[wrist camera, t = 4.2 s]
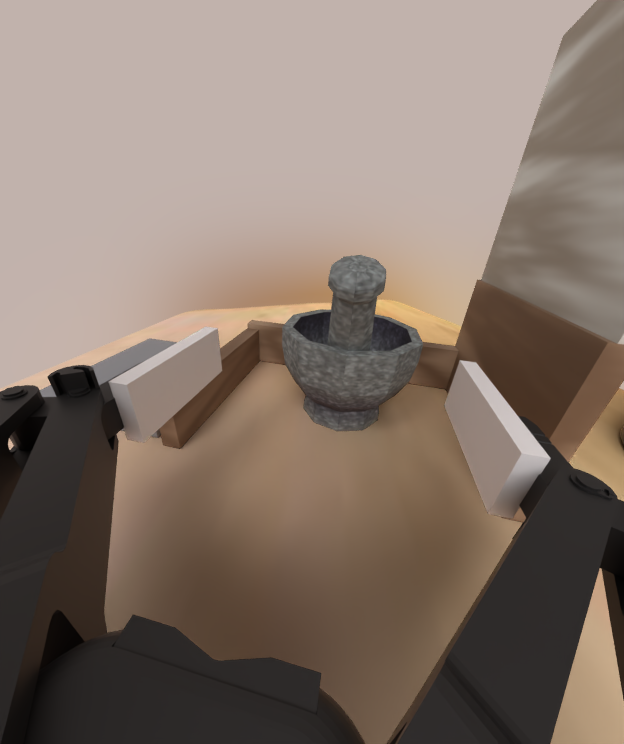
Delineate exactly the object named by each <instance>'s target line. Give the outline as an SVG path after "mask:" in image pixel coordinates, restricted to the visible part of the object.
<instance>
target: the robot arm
mask: <svg viewBox="0 0 624 744" xmlns="http://www.w3.org/2000/svg"><path fill="white" fill-rule="evenodd" d="M221 371H222V364H221V355H220V345H219V335H218V328H211V327H204V328H202V329H201V330H199V331H197V332H195V333H193V334H192V335H190V336H188V337H186V338H185V339H183V340H181V341H179V342H178V343H176V344H174V345H172V346H171V347H169V348H167V349H165V350H163V351H162V352H160V353H158V354H156V355H155V356H153V357H151V358H149V359H148V360H146V361H144V362H141V363H138V364H137V365H135V366H133V367H131V368H130V369H128V370H126V371H124V372H123V373H122V374H119V375H117V376H115V377H113V378H112V379H110V380H108V381H106V382H105V383H103V384H101V385H99V383H98V381H97V378H96V375H95V372H94V369H93V367H91V366H86V365H78V366H71V367H66V368H62V369H59V370H57V371H55V372H53V373H51V374H50V375H49V376H48V379H49V381H50V383H51V386H52V388H53V390H54V392H55V395H56V397H42V395H41V393H40V391H39V388H38V387H36V386H29V385H25V386H15V387H13V388H12V387H11V388H7V389H5V390H4V391H1V392H0V744H365V742H364V740H363V739H362V737H361V735H360V734H359V732H358V730H357V729H356V727H355V726H354V724H353V722H352V721H351V720H350V718H349V717H348V716H347V714H346V713H345V712H344V711H343V709H342V708H341V707H340V706H339V705H338V704H337V703H336V702H335V701H334V700H333V699H332V698H331V697H330V696H329V695H328V694H327V693H325V692H324V691H323V690H321V689H320V679H321V673H319V672H316V671H313V670H310V669H306V668H303V667H300V666H297V665H294V664H290V663H287V662H284V661H281V660H278V659H274V658H256V659H240V660H224V661H218V660H214V659H212V658H211V657H210V656H208V655H207V654H206V653H205V652H204V651H203V650H201V649H200V648H199V647H198V646H197V645H195V644H194V643H193V642H192V641H191V640H189V639H188V638H187V637H186V636H185V635H184V634H182V633H181V632H180V631H179V630H178V629H176V628H175V627H172V626H168V625H165V624H162V623H159V622H155V621H152V620H149V619H146V618H143V617H139V616H136V615H132V617H131V619H130V620H129V622H128V623H127V625H126V627H125V628H124V630H119V631H114V632H109V633H107V628H106V623H105V616H104V604H105V592H106V581H107V569H108V558H109V546H110V534H111V523H112V511H113V500H114V488H115V476H116V465H117V453H118V442H119V441H118V438H117V435H116V434H117V433H118V432H119V431H120V430H122V429H123V428H124V431H125V434H126V437H127V439H128V440H132V441H137V442H142V443H144V442H145V441H146V440H148V439H149V438H150V437H151V436H152V435H153V434H154V433H155V432H156V431H157V430H158V429H159V428H161V427H162V426H163V425H164V424H165V423H166V422H167V421H168V420H169V419H170V418H171V417H173V416H174V415H175V414H176V413H177V412H178V411H179V410H180V409H181V408H182V407H183V406H184V405H186V404H187V403H188V402H189V401H190V400H191V399H192V398H193V397H194V396H195V395H196V394H198V393H199V392H200V391H201V390H202V389H203V388H204V387H205V386H206V385H207V384H208V383H210V382H211V381H212V380H213V379H214V378H215V377H216V376H217V375H218V374H219V373H220V372H221ZM444 406H445V409H446V411H447V414H448V416H449V419H450V421H451V424H452V426H453V429H454V431H455V434H456V436H457V439H458V441H459V444H460V446H461V449H462V451H463V454H464V456H465V459H466V461H467V464H468V466H469V468H470V471H471V473H472V476H473V478H474V481H475V483H476V486H477V488H478V491H479V493H480V496H481V498H482V501H483V503H484V506H485V508H486V511H487V513H488V514H491V515H496V516H501V517H505V518H510V519H513V517H514V515H515V514H516V512H517V511H518V509H519V508H520V507H521V509H522V511H523V513H524V515H525V517H526V519H525V521H524V522H523V524H522V525H521V527H520V528H519V529H518V531H517V532H516V534H515V535H514V537H513V538H512V539H513V540H512V541H511V543H510V545H509V546H508V548H507V550H506V551H505V553H504V554H503V556H502V558H501V559H500V561H499V563H498V564H497V566H496V568H495V569H494V571H493V572H492V574H491V576H490V577H489V579H488V581H487V582H486V584H485V585H484V587H483V589H482V590H481V592H480V594H479V595H478V597H477V599H476V600H475V602H474V603H473V605H472V607H471V608H470V610H469V612H468V613H467V615H466V617H465V618H464V620H463V621H462V623H461V625H460V626H459V628H458V630H457V631H456V633H455V634H454V636H453V638H452V639H451V641H450V643H449V644H448V646H447V648H446V649H445V651H444V652H443V654H442V656H441V657H440V659H439V661H438V662H437V664H436V666H435V667H434V669H433V670H432V672H431V674H430V675H429V677H428V679H427V680H426V682H425V683H424V685H423V687H422V688H421V690H420V692H419V693H418V695H417V697H416V698H415V700H414V701H413V703H412V705H411V706H410V708H409V709H408V711H407V713H406V714H405V716H404V717H403V719H402V720H401V722H400V723H399V725H398V726H397V728H396V730H395V731H394V733H393V734H392V736H391V737H390V739H389V741H388V742H387V744H550V742H551V739H552V735H553V732H554V728H555V724H556V721H557V717H558V714H559V710H560V707H561V703H562V700H563V696H564V692H565V689H566V685H567V682H568V678H569V675H570V671H571V668H572V664H573V660H574V657H575V653H576V650H577V646H578V643H579V639H580V636H581V632H582V628H583V625H584V621H585V618H586V614H587V611H588V607H589V604H590V600H591V596H592V593H593V589H594V586H595V582H596V579H597V575H598V572H599V568H601V569H602V573H603V579H604V585H605V591H606V597H607V603H608V609H609V615H610V621H611V627H612V633H613V639H614V645H615V651H616V657H617V663H618V669H619V675H620V681H621V687H622V693H623V699H624V501H621V500H618V499H617V495H616V494H615V493H614V492H613V490H612V489H611V488H610V487H609V486H607V485H606V484H605V483H604V482H602V481H601V480H599V479H597V478H596V477H594V476H592V475H591V474H588V473H586V472H583V471H581V470H578V469H573V467H572V466H571V465H570V464H569V463H568V461H567V460H566V459H565V458H564V457H563V455H562V454H561V453H560V452H559V451H558V449H557V448H556V447H555V446H554V445H552V442H551V441H550V440H549V439H548V438H547V437H545V434H544V433H543V432H542V430H541V429H540V428H539V427H538V426H537V425H536V424H534V423H533V422H532V421H530V420H529V419H527V418H526V417H523V416H517V414H516V413H515V412H514V411H513V409H512V408H511V407H510V405H509V404H508V403H507V402H506V400H505V399H504V398H503V396H502V395H501V394H500V393H499V391H498V390H497V389H496V387H495V386H494V385H493V384H492V382H491V381H490V380H489V378H488V377H487V376H486V375H485V373H484V372H483V371H482V369H481V368H480V367H479V366H478V364H477V363H476V362H469V361H462V360H460V361H459V364H458V367H457V370H456V373H455V376H454V378H453V381H452V384H451V387H450V390H449V393H448V396H447V399H446V401H445V404H444ZM620 436H621V440H622V442H623V445H624V426H623V427H622V429H621V432H620ZM9 438H10V440H11V441H12V443H13V445H14V447H13V448H12V449H11V450H9V447H8V439H9Z"/></svg>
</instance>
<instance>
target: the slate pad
mask: <svg viewBox="0 0 624 744" xmlns="http://www.w3.org/2000/svg"><path fill="white" fill-rule="evenodd" d="M176 343H177V342H170V341H163V340H156V339H148V340H146V341H143V342H141V343H139V344H137V345H135V346H133V347H131V348H129V349H126V350H124V351H122V352H120V353H118V354H116V355H114V356H112V357H110V358H107V359H105V360H103V361H101V362H99V363H97V364H95V365H93V366H91V367H93V369H94V372H95V375H96V378H97V381H98V383H99V385H101V384H103V383H105V382H106V381H108V380H110V379H112V378H113V377H115V376H117V375H119V374H122V373H123V372H124V371H126V370H128V369H130V368H131V367H133V366H135V365H137V364H138V363H141V362H144V361H146V360H148V359H149V358H151V357H153V356H155V355H156V354H158V353H160V352H162V351H163V350H165V349H167V348H169V347H171V346H172V345H174V344H176ZM39 391H40V393H41V395H42V397H56V395H55V392H54V390H53V388H52V386H51V385H50V386H48V387H46V388H44V389H42V390H39ZM122 430H124V428H123V429H122ZM160 435H161V434H160V430H159V429H158V430H157V431H156V432H155V433H154V434H153V435H152V437H157V438H158V437H159V436H160Z"/></svg>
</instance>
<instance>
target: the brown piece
mask: <svg viewBox="0 0 624 744" xmlns="http://www.w3.org/2000/svg"><path fill="white" fill-rule="evenodd" d="M284 325H285V324H278V323H271V322H263V321H255V320H252V321H250V322H249V323H248V328H247V329H246V330H245V331H243V332H242V333H241V334H239V335H238V336H237V337H235V338H234V339H233V340H231V341H230V342H229V343H227V344H226V345H225V346H223V347H222V348H221V349H220V355H221V364H222V371H221V372H220V373H219V374H218V375H217V376H216V377H215V378H214V379H213V380H212V381H211V382H210V383H208V384H207V385H206V386H205V387H204V388H203V389H202V390H201V391H200V392H199V393H198V394H196V395H195V396H194V397H193V398H192V399H191V400H190V401H189V402H188V403H187V404H186V405H184V406H183V407H182V408H181V409H180V410H179V411H178V412H177V413H176V414H175V415H174V416H173V417H171V418H170V419H169V420H168V421H167V422H166V423H165V424H164V425H163V426H162V427H161V428H159V430H160V434H161V438H162V442H163V445H165V446H170V447H175V448H179V449H180V448H181V447H182V446H183V445H184V444H185V443H186V442H187V440H188V439H189V438H190V437H191V436H192V435H193V434H194V433H195V432H196V431H197V429H198V428H199V427H200V426H201V425H202V424H203V423H204V422H205V421H206V420H207V418H208V417H209V416H210V415H211V414H212V413H213V412H214V411H215V410H216V408H217V407H218V406H219V405H220V404H221V403H222V402H223V401H224V400H225V399H226V397H227V396H228V395H229V394H230V393H231V392H232V391H233V390H234V389H235V388H236V386H237V385H238V384H239V383H240V382H241V381H242V380H243V379H244V378H245V377H246V375H247V374H248V373H249V372H250V371H251V370H252V369H253V368H254V367H255V365H256V364H257V363H258V362H259V361H265V362H271V363H278V364H284V365H286V364H285V359H284V353H283V347H282V327H283V326H284ZM460 360H462V361H469V362H476V363H477V364H478V366H479V367H480V368H481V369H482V371H483V372H484V373H485V375H486V376H487V377H488V378H489V380H490V381H491V382H492V384H493V385H494V386H495V387H496V389H497V390H498V391H499V393H500V394H501V395H502V396H503V398H504V399H505V400H506V402H507V403H508V404H509V405H510V407H511V408H512V409H513V411H514V412H515V413H516V414H517V416H523V417H526V418H527V419H529V420H530V421H532V422H533V423H534V424H536V425H537V426H538V427H539V428H540V429H541V430H542V432H543V433H544V434H545V437H547V438H548V439H549V440H550V441H551V442H552V445H554V446H555V447H556V448H557V449H558V451H559V452H560V453H561V454H562V455H563V457H564V458H565V459H566V460H567V461H568V462H569V460H570V459H571V457H572V456H573V454H574V453H575V451H576V450H577V448H578V447H579V445H580V444H581V443H582V441H583V440H584V438H585V437H586V435H587V434H588V432H589V431H590V429H591V428H592V426H593V425H594V423H595V422H596V421H597V419H598V418H599V416H600V415H601V413H602V412H603V410H604V409H605V407H606V406H607V404H608V403H609V402H610V400H611V399H612V397H613V396H614V394H615V393H616V391H617V390H618V388H619V387H620V385H621V384H622V382H623V381H624V0H597V1H596V2H595V3H594V4H593V5H592V6H591V8H589V9H588V10H587V11H586V13H585V14H584V15H583V16H582V17H581V18H580V19H579V20H578V21H577V22H576V23H575V24H574V25H573V26H572V28H570V29H569V30H568V32H566V34H565V35H564V36H563V38H562V41H561V44H560V47H559V50H558V53H557V56H556V59H555V62H554V65H553V68H552V71H551V74H550V77H549V80H548V83H547V86H546V89H545V92H544V95H543V98H542V101H541V104H540V107H539V109H538V113H537V116H536V118H535V121H534V125H533V127H532V130H531V133H530V136H529V139H528V142H527V145H526V148H525V151H524V154H523V157H522V160H521V163H520V166H519V169H518V172H517V175H516V178H515V181H514V184H513V187H512V190H511V193H510V196H509V199H508V202H507V205H506V208H505V211H504V213H503V216H502V219H501V222H500V226H499V228H498V231H497V234H496V237H495V241H494V243H493V246H492V249H491V252H490V255H489V258H488V261H487V264H486V267H485V270H484V273H483V276H482V279H481V280H477V282H476V285H475V288H474V291H473V294H472V297H471V300H470V303H469V306H468V309H467V312H466V315H465V318H464V321H463V324H462V327H461V330H460V333H459V337H458V340H457V343H456V346H450V345H442V344H434V343H427V342H423V347H422V351H421V355H420V358H419V362H418V364H417V366H416V369H415V371H414V373H413V375H412V377H411V379H410V381H409V382H408V383H410V384H416V385H423V386H429V387H436V388H442V389H446V391H447V393H449V390H450V387H451V384H452V381H453V378H454V376H455V373H456V370H457V367H458V364H459V361H460ZM502 518H505V517H502ZM506 519H510V518H506ZM525 519H526V517H525V515H524V513H523V511H522V509H521V507H520V508H519V509H518V511H517V512H516V514H515V515H514V517H513V519H511V520H515V521H520V522H524V521H525Z"/></svg>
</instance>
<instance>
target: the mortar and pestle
mask: <svg viewBox="0 0 624 744" xmlns="http://www.w3.org/2000/svg"><path fill="white" fill-rule="evenodd" d="M385 279H386V269H385V268H384V267H383V266H382V265H381V264H380V263H379V262H378V261H377V260H376V259H373V258H369V257H365V256H362V255H357V256H348V257H343V258H342V259H340V260H339V261H337V262H335V263H334V264H333V265H332V267H331V270H330V275H329V282H328V286H329V287H330V289H331V290H332V291H333V299H332V308H331V310H316V311H311V312H306V313H301V314H296V315H293V316H292V317H291V318H290V319H289V320H288V321H287V322H286V323H285V325H284V326H283V327H282V347H283V353H284V359H285V364H286V366H287V368H288V370H289V372H290V373H291V375H292V377H293V379H294V380H295V382H296V383H297V384H298V385H299V387H300V388H301V389H302V390H303V392H304V393H305V394H306V397H305V400H304V409H305V411H306V412H307V414H308V415H309V416H310V418H311V419H312V420H313V422H315V423H317V424H320V425H322V426H325V427H328V428H330V429H333V430H335V431H357V430H364V429H365V428H367V427H368V426H370V425H371V424H373V423H374V422H375V421H377V420H378V414H379V406H378V405H380V404H382V403H383V402H385V401H386V400H388V399H390V398H391V397H393V396H394V395H396V394H397V393H398V392H399V391H400V390H401V389H402V388H403V387H404V386H405V385H406V384H407V383H408V382H409V381H410V379H411V377H412V375H413V373H414V371H415V369H416V366H417V364H418V362H419V358H420V355H421V351H422V347H423V342H422V340H421V338H420V336H419V334H418V332H417V330H416V329H415V328H412V327H410V326H408V325H406V324H403V323H401V322H399V321H397V320H394V319H392V318H390V317H385V316H380V315H375V308H376V301H377V296H378V295H380V294H381V293H382V292H383V291H384V287H385Z"/></svg>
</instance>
